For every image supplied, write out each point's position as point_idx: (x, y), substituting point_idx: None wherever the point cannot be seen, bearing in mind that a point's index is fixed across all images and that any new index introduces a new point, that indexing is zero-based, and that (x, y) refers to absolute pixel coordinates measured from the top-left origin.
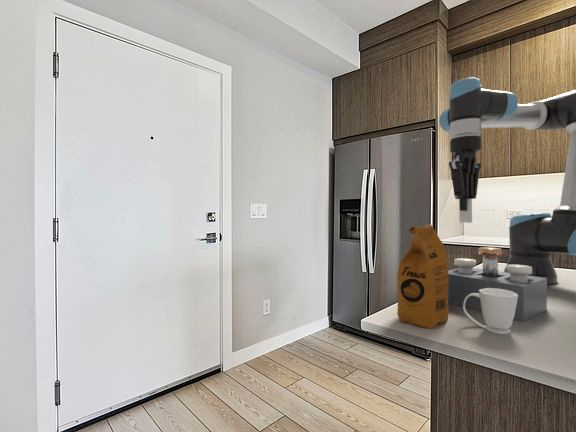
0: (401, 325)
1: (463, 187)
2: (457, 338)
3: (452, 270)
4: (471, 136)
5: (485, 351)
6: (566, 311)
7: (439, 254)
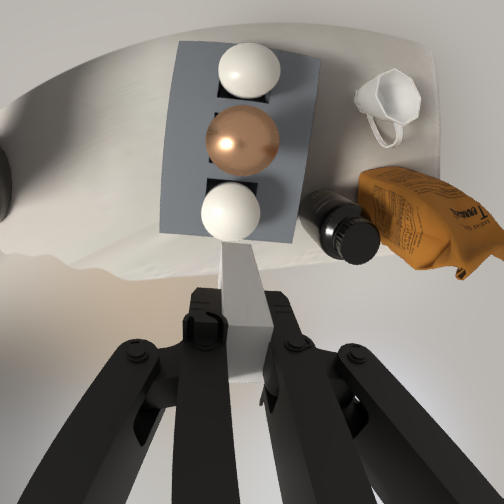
0: None
1: (392, 397)
2: (422, 139)
3: None
4: None
5: (433, 108)
6: (173, 39)
7: (445, 208)
